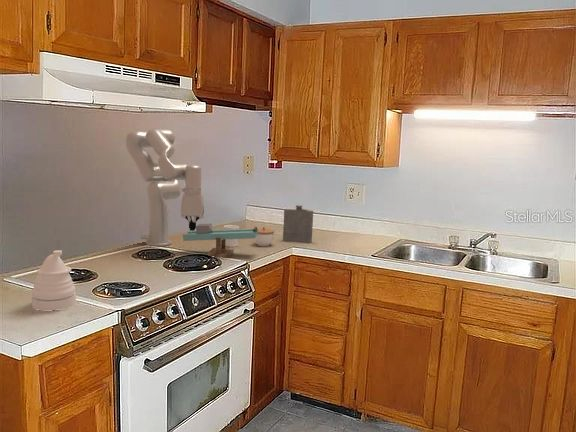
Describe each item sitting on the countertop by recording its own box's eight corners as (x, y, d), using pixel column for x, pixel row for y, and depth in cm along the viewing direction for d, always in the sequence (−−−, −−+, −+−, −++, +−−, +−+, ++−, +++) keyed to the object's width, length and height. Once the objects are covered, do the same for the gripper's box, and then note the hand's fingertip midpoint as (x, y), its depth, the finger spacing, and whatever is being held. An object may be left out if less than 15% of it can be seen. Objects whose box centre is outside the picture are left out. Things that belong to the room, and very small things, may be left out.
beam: (183, 243, 240) (182, 232, 239) (189, 239, 249) (188, 228, 249) (255, 241, 236) (254, 229, 236) (258, 236, 246) (257, 226, 246)
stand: (207, 256, 238) (207, 237, 237) (213, 250, 251) (213, 232, 249) (228, 258, 237) (228, 238, 236) (233, 251, 250) (234, 233, 249)
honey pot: (84, 301, 170) (83, 248, 167) (55, 314, 158) (53, 257, 155) (53, 296, 174) (51, 244, 171) (22, 307, 162) (20, 252, 159)
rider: (196, 235, 240) (196, 226, 240) (200, 233, 246) (199, 223, 246) (209, 235, 240) (208, 225, 239) (212, 232, 246) (211, 223, 245)
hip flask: (282, 241, 280) (283, 204, 277) (283, 239, 284) (285, 203, 281) (311, 243, 278) (313, 206, 274) (312, 241, 282) (314, 205, 278)
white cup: (221, 244, 266) (221, 225, 264) (236, 243, 269) (236, 224, 267) (225, 247, 259) (225, 228, 257) (240, 246, 261) (240, 227, 260)
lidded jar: (271, 247, 262) (271, 229, 261) (250, 246, 264) (251, 228, 263) (275, 243, 273) (275, 226, 271) (255, 242, 274) (256, 224, 273)
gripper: (174, 191, 237) (174, 230, 240) (206, 193, 236) (205, 232, 239) (179, 190, 245) (179, 228, 248) (210, 191, 244) (209, 229, 246)
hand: (192, 230), depth 243 cm, fingers closed
